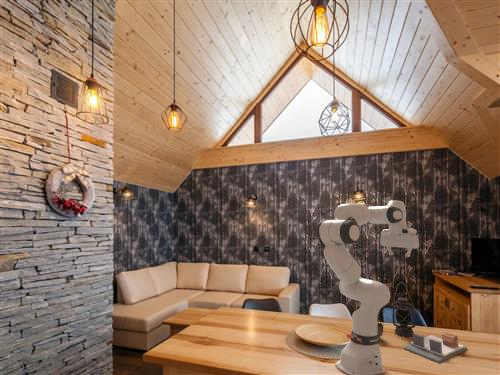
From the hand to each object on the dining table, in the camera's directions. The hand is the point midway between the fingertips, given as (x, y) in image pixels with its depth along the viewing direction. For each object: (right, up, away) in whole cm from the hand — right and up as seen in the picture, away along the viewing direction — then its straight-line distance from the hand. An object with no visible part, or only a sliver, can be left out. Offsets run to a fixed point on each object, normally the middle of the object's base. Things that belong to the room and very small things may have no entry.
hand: (399, 255), depth 156 cm
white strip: (+20, -46, -8) cm, 51 cm away
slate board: (+16, -48, -6) cm, 50 cm away
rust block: (+24, -46, -6) cm, 52 cm away
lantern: (+11, -50, +15) cm, 53 cm away
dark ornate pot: (-9, -49, +8) cm, 51 cm away
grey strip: (+15, -47, -1) cm, 49 cm away
